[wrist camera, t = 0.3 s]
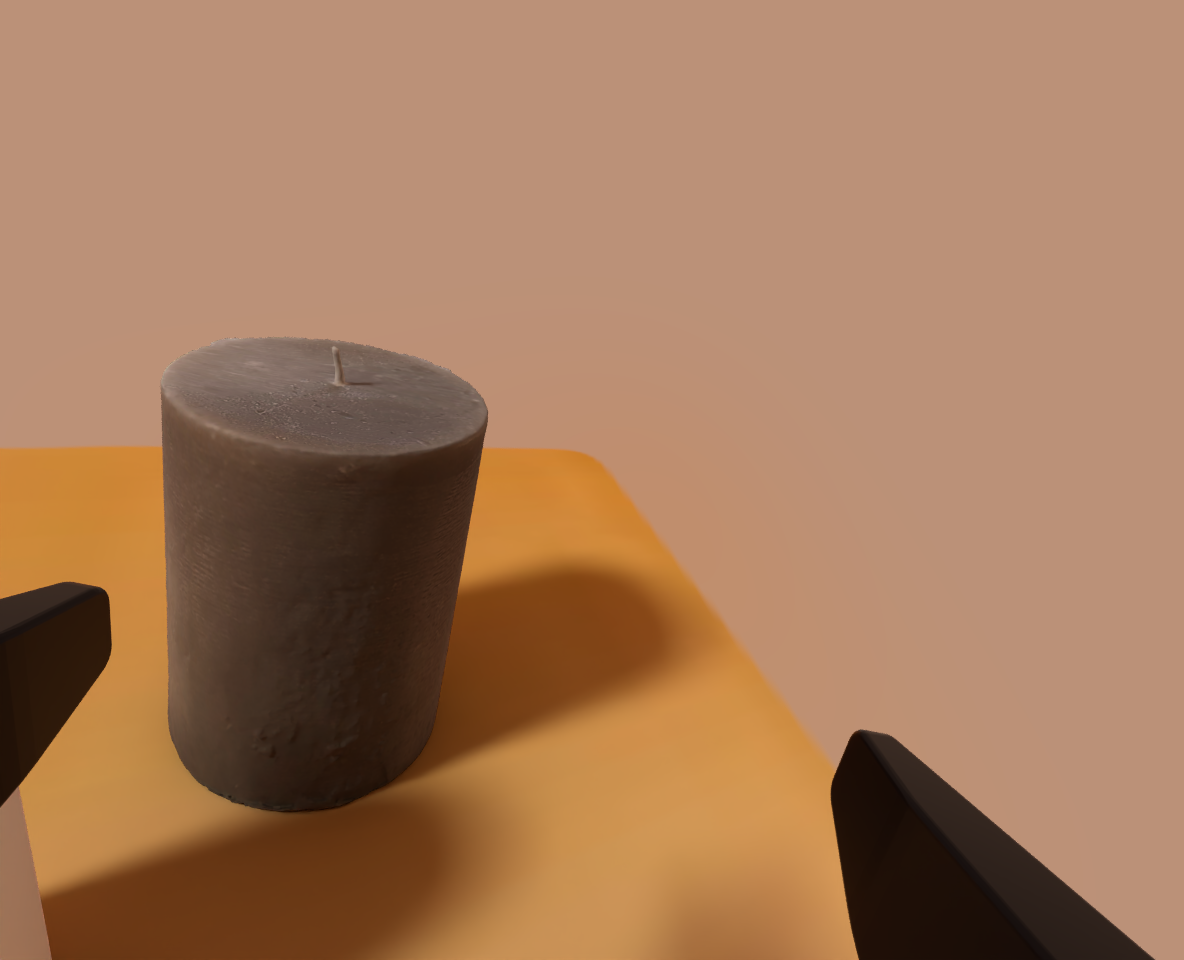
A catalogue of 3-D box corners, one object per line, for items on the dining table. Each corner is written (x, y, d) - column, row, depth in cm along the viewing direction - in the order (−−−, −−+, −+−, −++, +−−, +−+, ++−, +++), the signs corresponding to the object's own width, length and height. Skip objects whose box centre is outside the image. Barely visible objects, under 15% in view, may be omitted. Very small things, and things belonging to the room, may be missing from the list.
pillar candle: (345, 860, 23) (397, 448, 17) (102, 741, 25) (64, 326, 19) (476, 678, 32) (544, 360, 25) (288, 599, 34) (307, 282, 27)
